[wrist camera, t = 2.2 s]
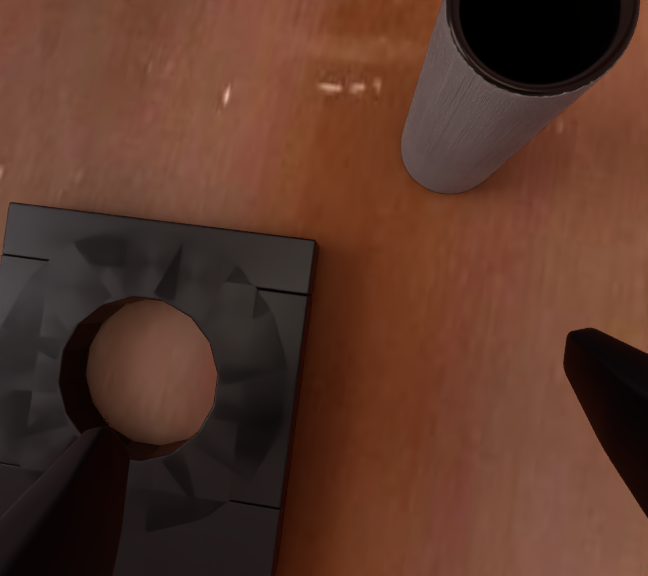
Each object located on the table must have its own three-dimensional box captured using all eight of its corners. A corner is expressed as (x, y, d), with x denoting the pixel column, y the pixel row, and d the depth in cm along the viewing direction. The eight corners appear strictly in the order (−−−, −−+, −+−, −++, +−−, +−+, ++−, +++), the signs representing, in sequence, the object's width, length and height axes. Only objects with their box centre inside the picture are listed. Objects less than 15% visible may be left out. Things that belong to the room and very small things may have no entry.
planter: (419, 85, 21) (483, -117, 11) (513, 116, 21) (671, -63, 10) (386, 176, 21) (418, 61, 11) (479, 208, 21) (604, 121, 10)
